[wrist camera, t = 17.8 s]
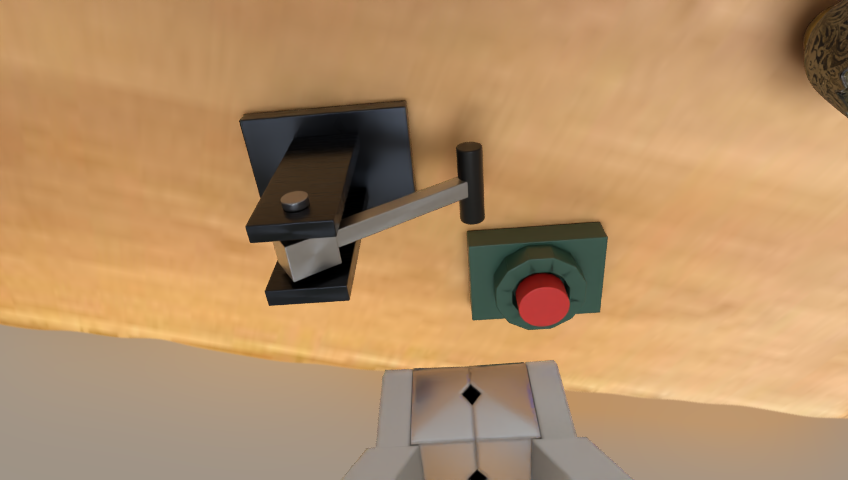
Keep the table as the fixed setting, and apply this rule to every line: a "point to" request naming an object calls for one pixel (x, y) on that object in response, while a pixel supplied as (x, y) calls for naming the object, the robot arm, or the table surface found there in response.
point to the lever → (391, 216)
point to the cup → (829, 55)
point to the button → (542, 299)
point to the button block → (535, 267)
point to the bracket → (324, 182)
